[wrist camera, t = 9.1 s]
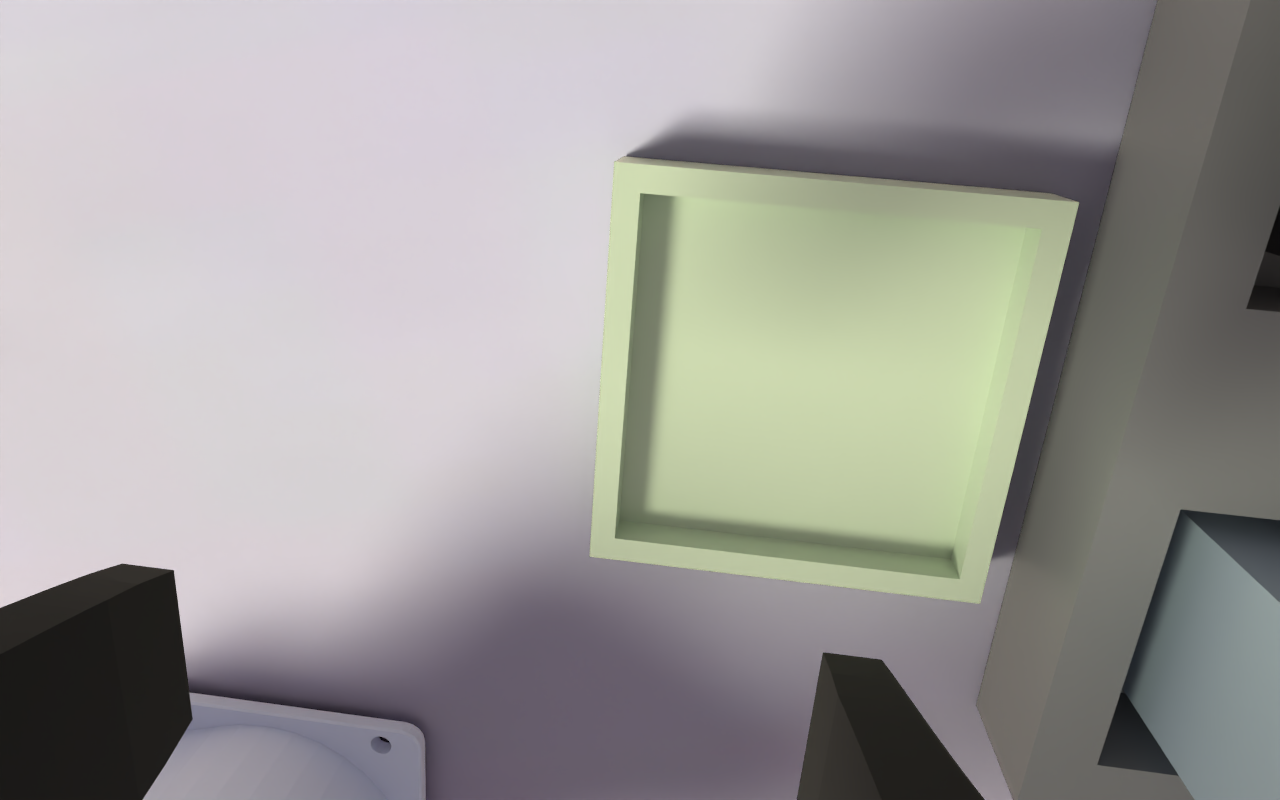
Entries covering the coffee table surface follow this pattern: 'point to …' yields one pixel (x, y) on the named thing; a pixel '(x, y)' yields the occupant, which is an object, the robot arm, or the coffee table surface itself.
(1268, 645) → the plug
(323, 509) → the coffee table surface
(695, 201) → the tray
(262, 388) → the coffee table surface
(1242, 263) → the power strip
